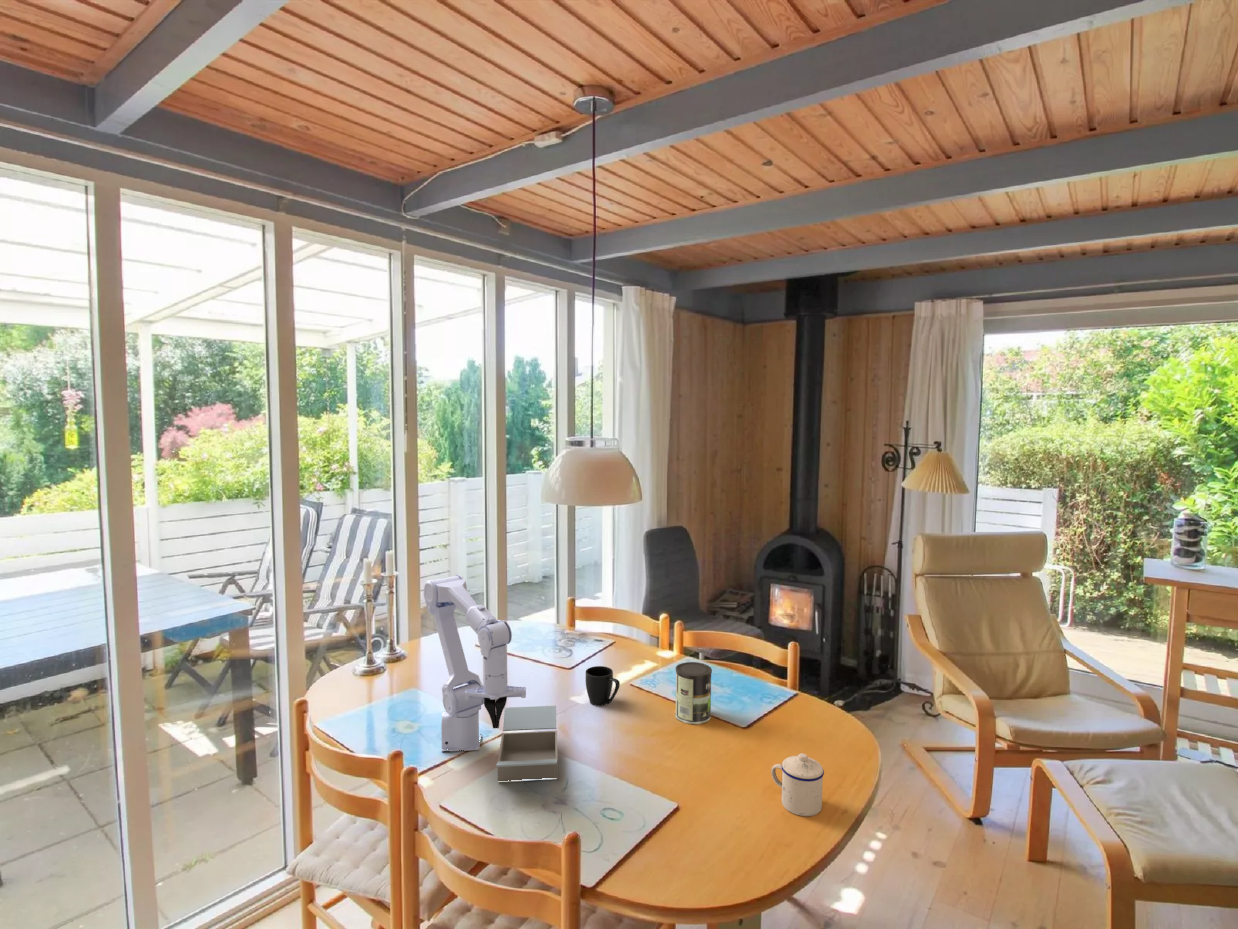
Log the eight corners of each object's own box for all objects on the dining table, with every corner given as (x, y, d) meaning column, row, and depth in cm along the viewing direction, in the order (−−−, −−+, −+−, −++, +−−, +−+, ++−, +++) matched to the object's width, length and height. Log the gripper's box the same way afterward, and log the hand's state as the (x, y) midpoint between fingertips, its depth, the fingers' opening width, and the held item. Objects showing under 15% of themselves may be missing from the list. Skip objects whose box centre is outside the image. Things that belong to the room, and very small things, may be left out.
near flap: (498, 761, 153) (498, 763, 152) (495, 765, 146) (495, 767, 146) (556, 758, 154) (556, 760, 154) (556, 762, 147) (557, 764, 147)
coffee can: (712, 709, 192) (712, 663, 191) (709, 726, 182) (710, 677, 181) (677, 706, 194) (677, 660, 193) (672, 722, 184) (673, 674, 183)
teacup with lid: (829, 804, 146) (831, 754, 145) (811, 823, 139) (813, 771, 138) (780, 783, 154) (781, 736, 153) (761, 801, 147) (762, 751, 146)
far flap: (504, 707, 174) (504, 708, 174) (503, 730, 168) (503, 731, 168) (556, 705, 175) (556, 706, 175) (556, 727, 169) (556, 728, 169)
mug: (607, 715, 188) (607, 683, 187) (579, 701, 196) (579, 671, 196) (627, 706, 194) (627, 675, 193) (599, 693, 202) (600, 663, 201)
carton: (497, 782, 154) (497, 762, 153) (502, 751, 167) (502, 733, 167) (557, 779, 155) (557, 759, 155) (557, 749, 169) (557, 730, 168)
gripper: (462, 680, 154) (463, 735, 155) (524, 677, 155) (525, 732, 156) (466, 668, 161) (467, 721, 162) (526, 666, 162) (526, 719, 163)
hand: (496, 726), depth 159 cm, fingers closed
